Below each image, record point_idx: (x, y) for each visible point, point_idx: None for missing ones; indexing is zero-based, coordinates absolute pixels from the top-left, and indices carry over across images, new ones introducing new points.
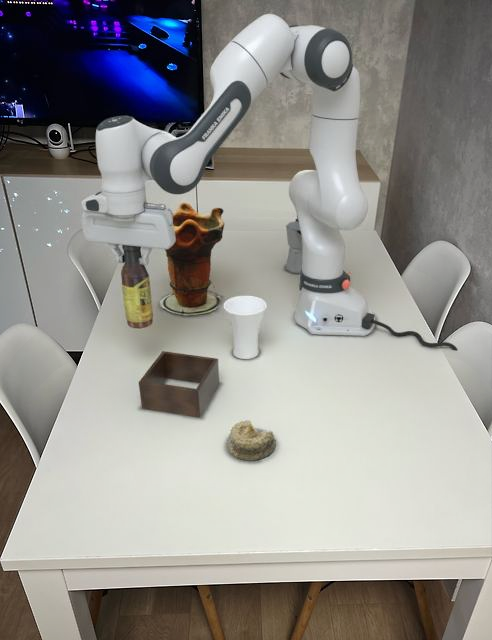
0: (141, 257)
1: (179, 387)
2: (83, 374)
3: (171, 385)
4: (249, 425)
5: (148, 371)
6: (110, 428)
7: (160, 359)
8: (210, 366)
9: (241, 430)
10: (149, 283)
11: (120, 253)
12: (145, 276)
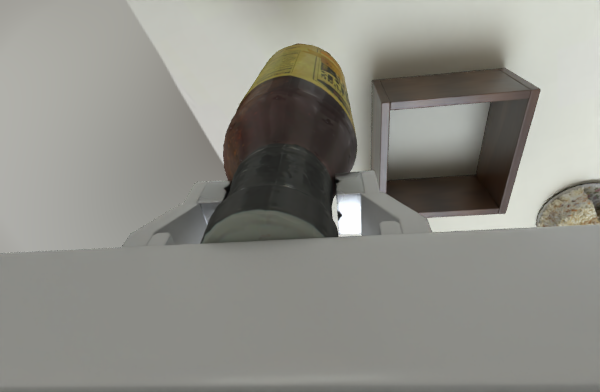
0: (350, 225)
1: (464, 213)
2: (208, 130)
3: (446, 212)
4: (592, 217)
5: (383, 186)
6: (345, 235)
7: (388, 133)
8: (522, 128)
9: None
10: (352, 119)
11: (202, 220)
12: (352, 163)
